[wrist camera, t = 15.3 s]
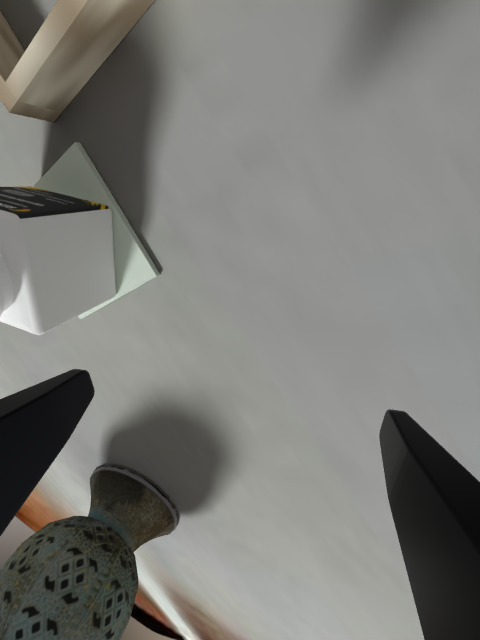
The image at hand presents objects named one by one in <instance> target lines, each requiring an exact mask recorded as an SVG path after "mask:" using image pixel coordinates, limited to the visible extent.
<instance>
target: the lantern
mask: <svg viewBox="0 0 480 640" xmlns="http://www.w3.org/2000/svg"><path fill="white" fill-rule="evenodd" d="M90 487H91V506H90V512H89V515H88V517H85V516H73V517H69V518H65V519H62V520H58V521H54V522H51V523H48V524H47V525H46V526H44V527H43V528H42V529H40V530H39V531H37V532H36V533H35V534H33V535H32V536H31V537H29V538H28V539H27V540H25V541H24V542H23V543H22V544H21V545H20V546H19V548H18V549H17V550H16V551H15V552H14V553H13V555H12V556H11V557H10V558H9V560H8V561H7V562H6V563H5V565H4V566H3V567H2V568H1V569H0V640H120V638H121V636H122V634H123V632H124V630H125V628H126V625H127V623H128V621H129V619H130V615H131V612H132V608H133V604H134V601H135V597H136V593H137V590H138V574H137V567H136V560H135V555H134V553H133V552H134V551H135V550H136V549H138V548H139V547H140V546H141V545H142V544H144V543H146V542H148V541H149V540H152V539H154V538H157V537H160V536H164V535H168V534H170V533H171V532H172V531H174V530H175V528H176V526H177V522H178V514H177V510H176V507H175V506H174V504H173V503H172V501H171V500H170V498H169V497H168V495H167V494H166V493H165V492H164V491H163V490H162V489H161V488H160V487H159V486H158V485H156V484H155V483H154V482H152V481H151V480H149V479H148V478H146V477H145V476H144V475H142V474H140V473H138V472H136V471H133V470H131V469H129V468H126V467H122V466H118V465H102V466H100V467H98V468H96V469H95V471H94V472H93V474H92V476H91V477H90Z"/></svg>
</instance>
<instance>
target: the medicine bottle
mask: <svg viewBox="0 0 480 640" xmlns="http://www.w3.org/2000/svg"><path fill="white" fill-rule="evenodd" d="M115 296H116V283H115V263H114V244H113V224H112V210H111V208H110V207H109V206H108V205H104V204H100V203H96V202H92V201H88V200H84V199H80V198H76V197H72V196H68V195H63V194H59V193H55V192H51V191H47V190H43V189H39V188H35V187H0V321H1V322H3V323H6V324H9V325H12V326H14V327H17V328H20V329H22V330H25V331H28V332H31V333H33V334H36V335H41V334H44V333H46V332H47V331H49V330H51V329H53V328H55V327H57V326H59V325H61V324H63V323H65V322H67V321H69V320H71V319H73V318H75V317H77V316H79V315H81V314H82V313H84V312H86V311H88V310H90V309H92V308H94V307H96V306H98V305H100V304H102V303H104V302H106V301H108V300H110V299H112V298H113V297H115Z"/></svg>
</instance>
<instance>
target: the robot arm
mask: <svg viewBox="0 0 480 640" xmlns="http://www.w3.org/2000/svg"><path fill="white" fill-rule="evenodd" d="M93 396H94V387H93V384H92V381H91V378H90V375H89V373H88V372H87V371H86V370H80V369H73V370H70V371H68V372H66V373H63V374H61V375H58V376H56V377H53V378H51V379H49V380H46V381H44V382H41V383H39V384H36V385H34V386H32V387H29V388H27V389H24V390H22V391H19V392H17V393H15V394H12V395H10V396H7V397H5V398H2V399H0V536H1V534H2V533H3V532H4V530H5V529H6V527H7V526H8V525H9V523H10V522H11V520H12V519H13V518H14V516H15V515H16V513H17V512H18V511H19V509H20V508H21V506H22V505H23V503H24V502H25V501H26V499H27V498H28V496H29V495H30V494H31V492H32V491H33V489H34V488H35V486H36V485H37V484H38V482H39V481H40V479H41V478H42V477H43V475H44V474H45V472H46V471H47V470H48V468H49V467H50V465H51V464H52V462H53V461H54V460H55V458H56V457H57V455H58V454H59V453H60V451H61V450H62V448H63V447H64V445H65V444H66V442H67V441H68V439H69V438H70V436H71V434H72V433H73V431H74V429H75V428H76V426H77V424H78V423H79V421H80V419H81V417H82V416H83V414H84V412H85V411H86V409H87V407H88V405H89V404H90V402H91V400H92V398H93ZM379 437H380V446H381V453H382V460H383V466H384V473H385V480H386V487H387V493H388V499H389V503H390V508H391V512H392V516H393V519H394V523H395V527H396V531H397V535H398V539H399V543H400V546H401V550H402V554H403V558H404V562H405V566H406V570H407V573H408V577H409V581H410V585H411V589H412V593H413V597H414V601H415V604H416V608H417V612H418V616H419V620H420V624H421V628H422V631H423V635H424V639H425V640H480V482H479V481H478V480H477V479H476V478H475V477H474V476H473V475H472V474H471V473H470V472H469V471H467V470H466V469H465V468H464V467H463V466H462V465H461V464H460V463H459V462H458V461H457V460H456V459H455V458H454V457H453V456H452V455H450V454H449V453H448V452H447V451H446V450H445V449H444V448H443V447H442V446H441V445H440V444H439V443H438V442H437V441H436V440H435V439H434V438H432V437H431V436H430V435H429V434H428V433H427V432H426V431H425V430H424V429H423V428H422V427H421V426H420V425H419V424H418V423H417V422H415V421H414V420H413V419H412V418H411V417H410V416H409V415H408V414H407V413H406V412H404V411H398V410H387V411H386V413H385V416H384V419H383V423H382V426H381V429H380V435H379Z"/></svg>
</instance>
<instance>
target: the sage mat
mask: <svg viewBox="0 0 480 640" xmlns="http://www.w3.org/2000/svg"><path fill="white" fill-rule="evenodd" d="M33 187H35V188H39V189H43V190H47V191H51V192H55V193H59V194H63V195H68V196H72V197H76V198H80V199H84V200H88V201H92V202H96V203H100V204H104V205H108V206H109V207H110V208H111V210H112V224H113V244H114V263H115V283H116V296H115V297H113V298H112V299H110V300H108V301H106V302H104V303H102V304H100V305H98V306H96V307H94V308H92V309H90V310H88V311H86V312H84V313H82V314H81V315H79V316H78V317H79V319H82V318H84V317H86V316H87V315H89V314H91V313H93V312H94V311H96V310H98V309H100V308H102V307H103V306H105V305H107V304H109V303H110V302H112V301H114V300H116V299H118V298H119V297H121V296H123V295H125V294H126V293H128V292H130V291H132V290H133V289H135V288H137V287H139V286H141V285H142V284H144V283H146V282H148V281H149V280H151V279H153V278H155V277H157V276H158V275H160V273H159V271H158V270H157V268H156V267H155V265H154V263H153V262H152V260H151V258H150V257H149V255H148V253H147V252H146V250H145V248H144V247H143V245H142V243H141V242H140V240H139V239H138V237H137V235H136V234H135V232H134V230H133V229H132V227H131V225H130V224H129V222H128V220H127V219H126V217H125V215H124V214H123V212H122V211H121V209H120V207H119V206H118V204H117V202H116V201H115V199H114V197H113V196H112V194H111V192H110V191H109V189H108V187H107V186H106V184H105V182H104V181H103V179H102V178H101V176H100V174H99V173H98V171H97V169H96V168H95V166H94V164H93V163H92V161H91V159H90V158H89V156H88V154H87V153H86V151H85V150H84V148H83V146H82V145H81V143H77V142H74V143H73V144H72V146H71V147H70V148H69V149H68V150H67V151H66V152H65V153H64V154H63V155H62V156H61V157H60V158H59V159H58V161H57V162H56V163H55V164H54V165H53V166H52V167H51V168H50V169H49V170H48V171H47V172H46V173H45V175H44V176H43V177H42V178H41V179H40V180H39V181H38V182H37V183H36V184H35V185H34V186H33Z"/></svg>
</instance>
